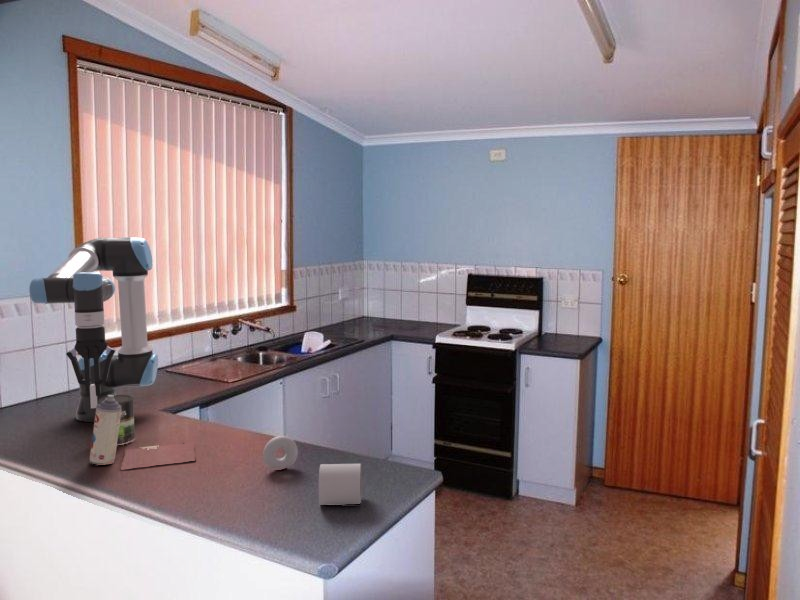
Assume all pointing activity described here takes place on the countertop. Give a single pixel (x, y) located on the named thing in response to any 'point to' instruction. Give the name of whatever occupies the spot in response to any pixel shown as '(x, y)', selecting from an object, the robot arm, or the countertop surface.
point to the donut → (276, 444)
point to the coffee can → (125, 418)
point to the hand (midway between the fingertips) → (94, 407)
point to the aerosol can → (105, 431)
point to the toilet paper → (340, 484)
